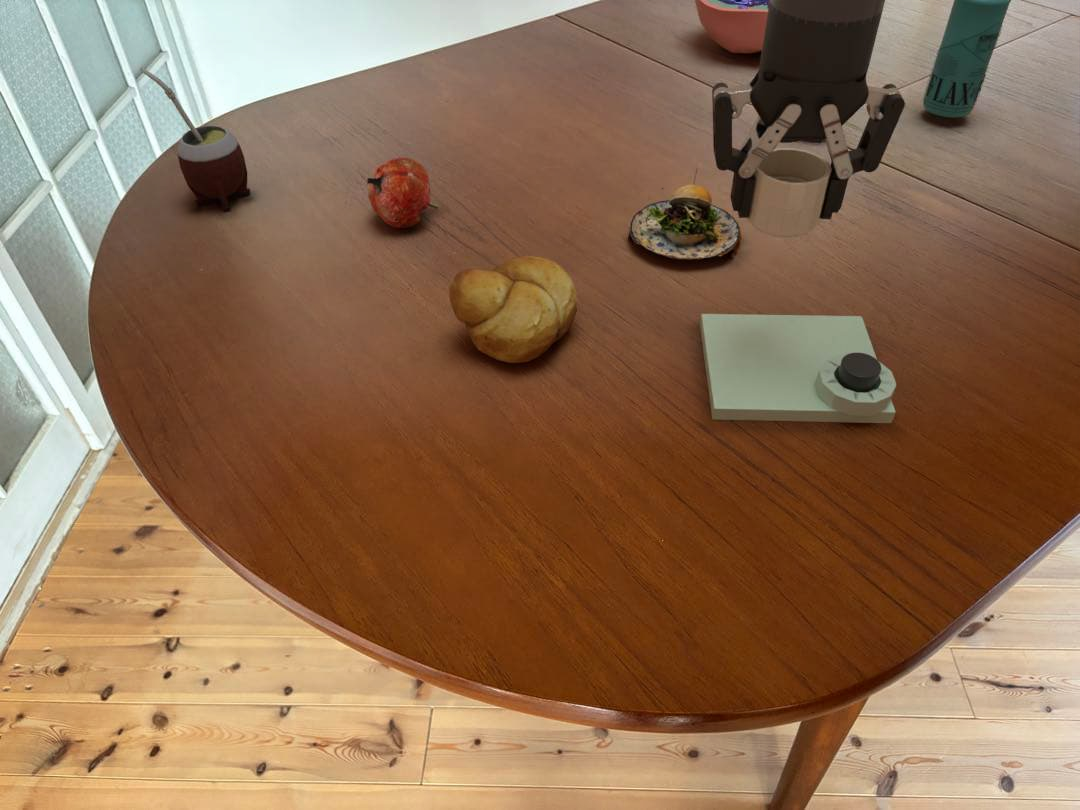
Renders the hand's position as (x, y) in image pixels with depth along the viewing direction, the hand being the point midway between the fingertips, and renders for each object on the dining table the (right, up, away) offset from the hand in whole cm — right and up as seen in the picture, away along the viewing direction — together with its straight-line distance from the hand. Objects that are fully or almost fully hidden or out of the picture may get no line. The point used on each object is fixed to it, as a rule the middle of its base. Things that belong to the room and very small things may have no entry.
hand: (783, 213), depth 70 cm
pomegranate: (-35, +5, +28) cm, 45 cm away
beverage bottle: (+33, +22, +43) cm, 58 cm away
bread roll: (-21, -9, +12) cm, 26 cm away
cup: (0, -1, +1) cm, 1 cm away
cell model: (+12, +38, +61) cm, 73 cm away
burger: (-4, +2, +23) cm, 24 cm away
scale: (+3, -13, +7) cm, 15 cm away
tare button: (+7, -14, +2) cm, 15 cm away
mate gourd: (-58, +9, +32) cm, 66 cm away
